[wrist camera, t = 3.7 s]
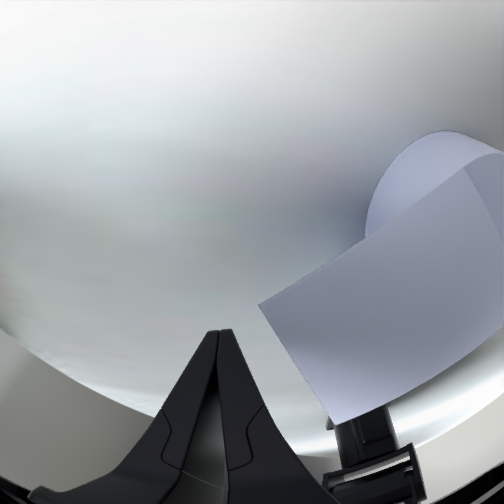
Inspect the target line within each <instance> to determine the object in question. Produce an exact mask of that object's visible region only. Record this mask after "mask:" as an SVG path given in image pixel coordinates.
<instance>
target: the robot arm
mask: <svg viewBox="0 0 504 504" xmlns="http://www.w3.org/2000/svg"><path fill="white" fill-rule="evenodd" d="M390 403H391V401H390V402H388V403H386V404H384V405H382V406H379V407H377V408H375V409H373V410H371V411H369V412H366V413H364V414H362V415H360V416H357V417H355V418H352V419H350V420H348V421H345V422H343V423H340V424H337V425H335V424H334V423H333V421H332V420H331V418H330V417H328V421H327V424H326V429H327V430H333V429H334V431H335V436H336V440H337V445H338V450H339V455H340V460H341V466H342V470H338V471H334V472H328V473H324V474H323V481H322V485H321V484H319V482H318V481H317V480H316V479H315V478H314V477H313V476H312V475H311V473H310V472H309V471H308V470H307V469H306V467H305V466H304V465H303V463H302V462H301V461H300V459H299V458H298V457H297V455H296V454H295V453H294V451H293V450H292V449H291V447H290V446H289V444H288V443H287V442H286V440H285V439H284V437H283V436H282V434H281V433H280V431H279V430H278V428H277V426H276V425H275V423H274V421H273V419H272V417H271V415H270V413H269V411H268V409H267V407H266V405H265V403H264V401H263V398H262V396H261V394H260V392H259V390H258V388H257V385H256V383H255V381H254V379H253V376H252V374H251V372H250V370H249V367H248V365H247V363H246V361H245V358H244V356H243V354H242V351H241V349H240V347H239V344H238V342H237V340H236V337H235V335H234V333H233V330H232V329H222V330H220V331H219V330H212V331H208V332H207V333H206V335H205V337H204V338H203V340H202V342H201V343H200V345H199V347H198V348H197V350H196V351H195V353H194V355H193V356H192V358H191V360H190V361H189V363H188V365H187V366H186V368H185V370H184V371H183V373H182V374H181V376H180V378H179V379H178V381H177V383H176V384H175V386H174V388H173V389H172V391H171V392H170V394H169V396H168V397H167V399H166V401H165V402H164V404H163V406H162V407H161V409H160V410H159V412H158V414H157V415H156V417H155V418H154V420H153V421H152V423H151V424H150V426H149V427H148V429H147V430H146V432H145V433H144V434H143V436H142V437H141V438H140V440H139V441H138V442H137V443H136V445H135V446H134V447H133V448H132V449H131V451H130V452H129V453H128V454H127V456H126V457H125V458H124V459H123V461H122V462H121V463H120V464H119V465H118V466H117V467H116V468H115V469H114V470H112V471H111V472H109V473H108V474H106V475H104V476H102V477H99V478H97V479H95V480H93V481H91V482H88V483H86V484H83V485H81V486H79V487H76V488H74V489H72V490H69V491H65V492H58V491H55V490H53V489H50V488H47V487H45V486H42V485H41V486H39V487H37V488H35V489H34V490H32V491H31V490H29V489H27V488H25V487H22V486H20V485H18V484H16V483H14V482H12V481H10V480H8V479H6V478H4V477H2V476H1V475H0V504H223V487H224V465H225V457H226V464H227V471H228V484H229V491H228V501H227V504H421V503H420V502H421V501H424V500H426V499H427V495H426V490H425V486H424V481H423V477H422V473H421V469H420V465H419V461H418V458H417V454H416V451H415V448H414V445H413V443H409V444H407V446H405V447H403V448H400V447H399V444H398V440H397V437H396V433H395V430H394V427H393V424H392V420H391V417H390V414H389V411H388V406H389V405H390ZM407 456H410V460H407V461H405V462H402V463H399V464H397V465H394V466H392V467H389V468H387V469H384V470H381V471H378V472H376V473H372V474H370V475H367V476H363V477H361V478H357V479H354V480H350V481H347V482H345V481H344V479H346V478H349V477H353V476H356V475H359V474H362V473H365V472H368V471H371V470H374V469H377V468H380V467H382V466H385V465H388V464H390V463H393V462H395V461H398V460H400V459H403V458H405V457H407ZM412 468H413V469H412ZM409 469H412V470H409ZM407 470H408V471H407ZM430 504H504V461H503V462H501V463H499V464H497V465H496V466H494V467H492V468H491V469H489V470H488V471H486V472H484V473H483V474H481V475H480V476H478V477H476V478H475V479H474V480H472V481H470V482H469V483H467V484H465V485H464V486H462V487H460V488H458V489H457V490H455V491H453V492H452V493H450V494H448V495H446V496H444V497H442V498H440V499H438V500H436V501H434V502H432V503H430Z"/></svg>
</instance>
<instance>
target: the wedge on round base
mask: <svg viewBox="0 0 504 504" xmlns="http://www.w3.org/2000/svg"><path fill="white" fill-rule="evenodd" d="M258 306H259V308H260V309H261V311H262V312H263V314H264V316H265V317H266V319H267V320H268V322H269V324H270V325H271V327H272V328H273V330H274V332H275V333H276V335H277V336H278V338H279V340H280V341H281V343H282V344H283V346H284V347H285V349H286V351H287V352H288V354H289V355H290V357H291V358H292V360H293V362H294V363H295V365H296V366H297V368H298V369H299V371H300V372H301V374H302V376H303V377H304V379H305V380H306V382H307V383H308V385H309V386H310V388H311V389H312V391H313V392H314V394H315V396H316V397H317V399H318V400H319V402H320V403H321V405H322V406H323V408H324V409H325V411H326V412H327V414H328V415H329V417H330V418H331V420H332V421H333V423H334V424H335V425H337V424H340V423H343V422H345V421H348V420H350V419H352V418H355V417H357V416H360V415H362V414H364V413H366V412H369V411H371V410H373V409H375V408H377V407H379V406H382V405H384V404H386V403H388V402H390V401H392V400H394V399H396V398H398V397H399V396H401V395H403V394H405V393H407V392H409V391H411V390H412V389H414V388H416V387H418V386H419V385H421V384H423V383H425V382H426V381H428V380H430V379H431V378H433V377H434V376H436V375H438V374H439V373H441V372H442V371H444V370H445V369H447V368H449V367H450V366H452V365H453V364H454V363H456V362H457V361H459V360H460V359H462V358H463V357H464V356H466V355H467V354H469V353H470V352H471V351H473V350H474V349H475V348H477V347H478V346H479V345H481V344H482V343H483V342H484V341H486V340H487V339H488V338H489V337H491V336H492V335H493V334H494V333H495V332H497V331H498V330H499V329H500V328H501V327H502V326H503V325H504V152H502V151H500V150H498V149H496V148H493V147H491V146H489V145H487V144H485V143H482V142H480V141H478V140H475V139H473V138H471V137H468V136H466V135H463V134H461V133H457V132H453V131H439V132H434V133H431V134H428V135H425V136H423V137H421V138H419V139H417V140H416V141H414V142H412V143H411V144H410V145H409V146H407V147H406V148H405V149H404V150H403V151H402V152H401V153H400V154H399V155H398V156H397V157H396V158H395V159H394V160H393V161H392V163H391V164H390V165H389V167H388V168H387V169H386V171H385V172H384V174H383V176H382V178H381V179H380V181H379V183H378V185H377V187H376V189H375V192H374V194H373V196H372V199H371V202H370V205H369V209H368V214H367V218H366V227H365V238H364V239H363V240H361V241H360V242H358V243H357V244H355V245H354V246H352V247H351V248H349V249H348V250H346V251H345V252H343V253H341V254H340V255H338V256H337V257H335V258H334V259H332V260H331V261H329V262H328V263H326V264H324V265H323V266H321V267H320V268H318V269H317V270H315V271H313V272H312V273H310V274H309V275H307V276H305V277H304V278H302V279H301V280H299V281H297V282H296V283H294V284H292V285H291V286H289V287H287V288H286V289H284V290H283V291H281V292H279V293H278V294H276V295H274V296H273V297H271V298H269V299H268V300H266V301H264V302H263V303H261V304H259V305H258Z"/></svg>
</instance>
